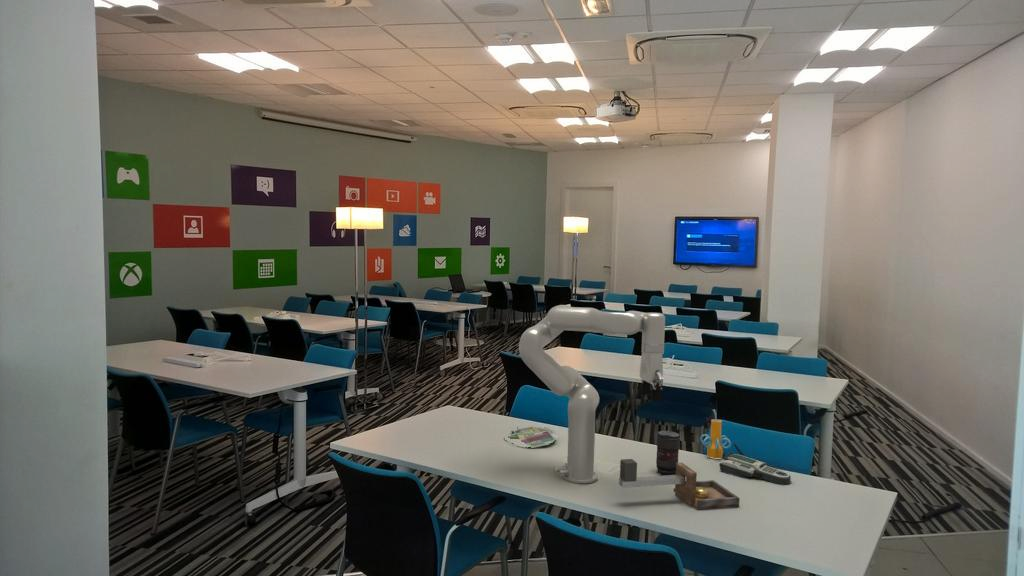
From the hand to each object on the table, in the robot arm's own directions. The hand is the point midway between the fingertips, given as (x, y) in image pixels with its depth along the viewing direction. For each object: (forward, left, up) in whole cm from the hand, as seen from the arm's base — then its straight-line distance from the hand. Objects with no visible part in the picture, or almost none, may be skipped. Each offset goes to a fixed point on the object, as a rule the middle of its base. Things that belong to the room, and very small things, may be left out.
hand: (650, 397), depth 219 cm
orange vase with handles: (+41, +26, -32) cm, 58 cm away
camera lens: (+13, +12, -32) cm, 36 cm away
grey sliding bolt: (-5, -13, -25) cm, 29 cm away
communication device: (+45, +4, -32) cm, 56 cm away
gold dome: (+13, -13, -28) cm, 34 cm away
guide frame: (+14, -13, -31) cm, 37 cm away
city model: (-28, +57, -32) cm, 71 cm away
